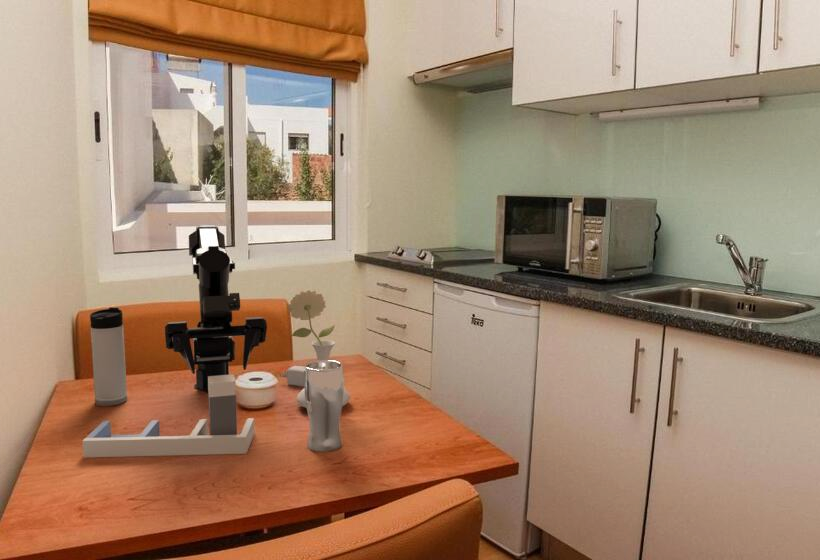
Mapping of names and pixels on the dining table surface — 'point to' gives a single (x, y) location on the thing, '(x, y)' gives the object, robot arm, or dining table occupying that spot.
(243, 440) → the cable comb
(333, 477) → the dining table surface
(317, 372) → the beer glass
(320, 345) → the flower in vase
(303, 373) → the usb wall charger
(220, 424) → the grey tall block
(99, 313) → the travel mug
